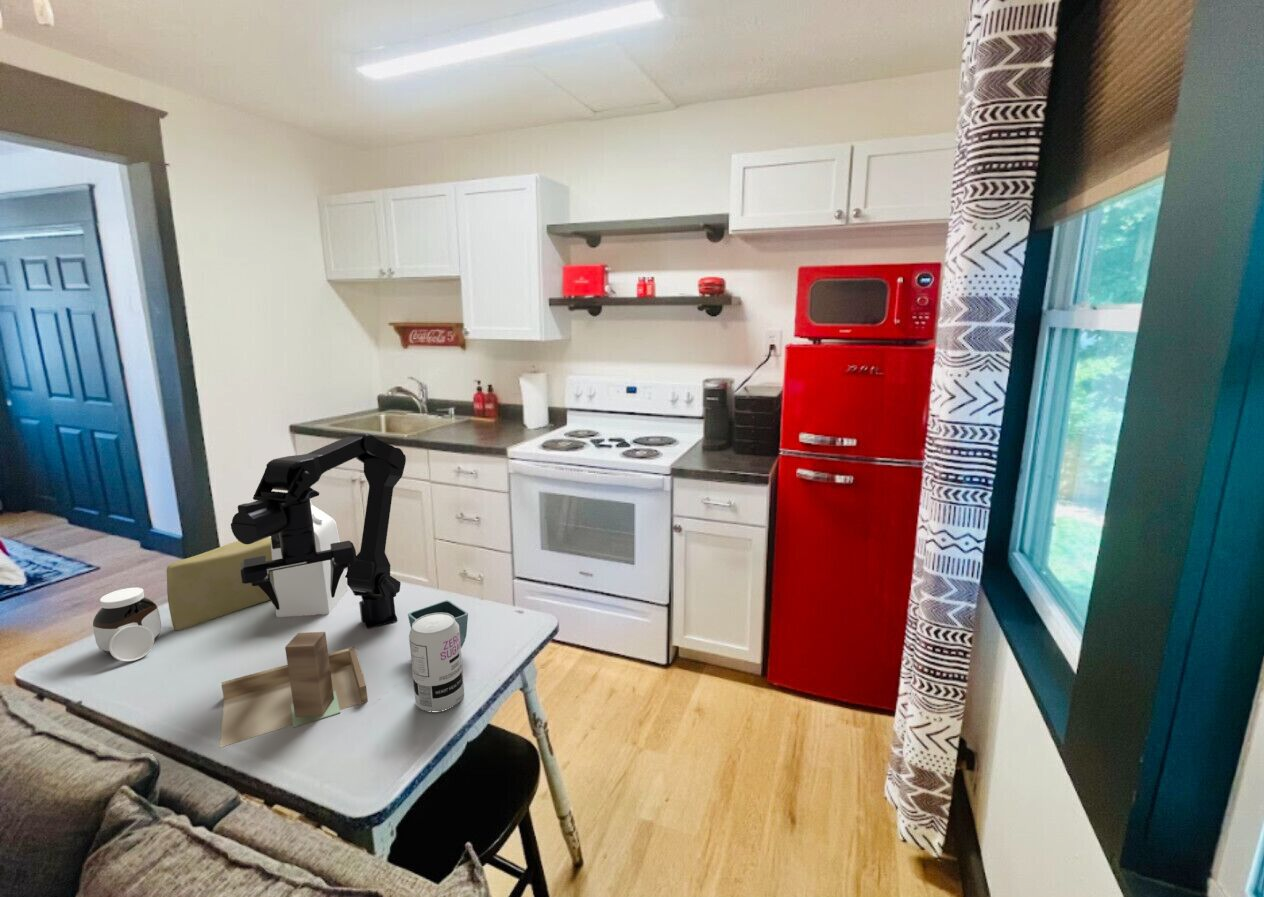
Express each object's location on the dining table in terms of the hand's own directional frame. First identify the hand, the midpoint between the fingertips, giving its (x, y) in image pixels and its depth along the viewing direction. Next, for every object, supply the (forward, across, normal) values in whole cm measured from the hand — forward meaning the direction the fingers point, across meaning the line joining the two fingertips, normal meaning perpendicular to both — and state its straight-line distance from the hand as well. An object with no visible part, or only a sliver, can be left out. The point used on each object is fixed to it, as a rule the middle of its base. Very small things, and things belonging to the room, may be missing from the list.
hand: (306, 602), depth 113 cm
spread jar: (+13, +31, -26) cm, 43 cm away
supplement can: (+13, -18, +25) cm, 34 cm away
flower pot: (+13, -22, +10) cm, 28 cm away
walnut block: (+12, +1, +16) cm, 21 cm away
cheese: (+13, +15, -36) cm, 42 cm away
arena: (+13, +4, +12) cm, 18 cm away
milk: (+13, -2, -29) cm, 32 cm away
